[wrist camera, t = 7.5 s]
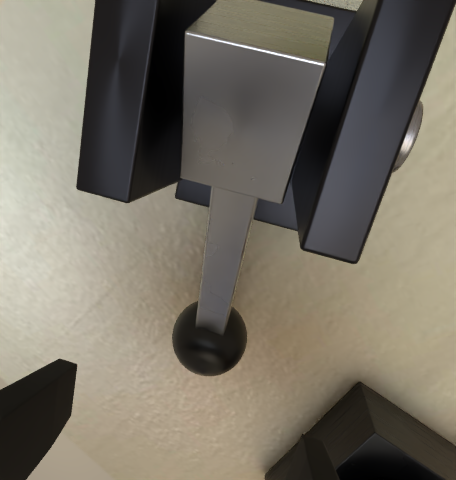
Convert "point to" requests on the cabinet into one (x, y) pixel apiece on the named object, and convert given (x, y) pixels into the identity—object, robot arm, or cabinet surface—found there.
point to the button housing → (377, 442)
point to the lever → (241, 147)
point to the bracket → (318, 131)
